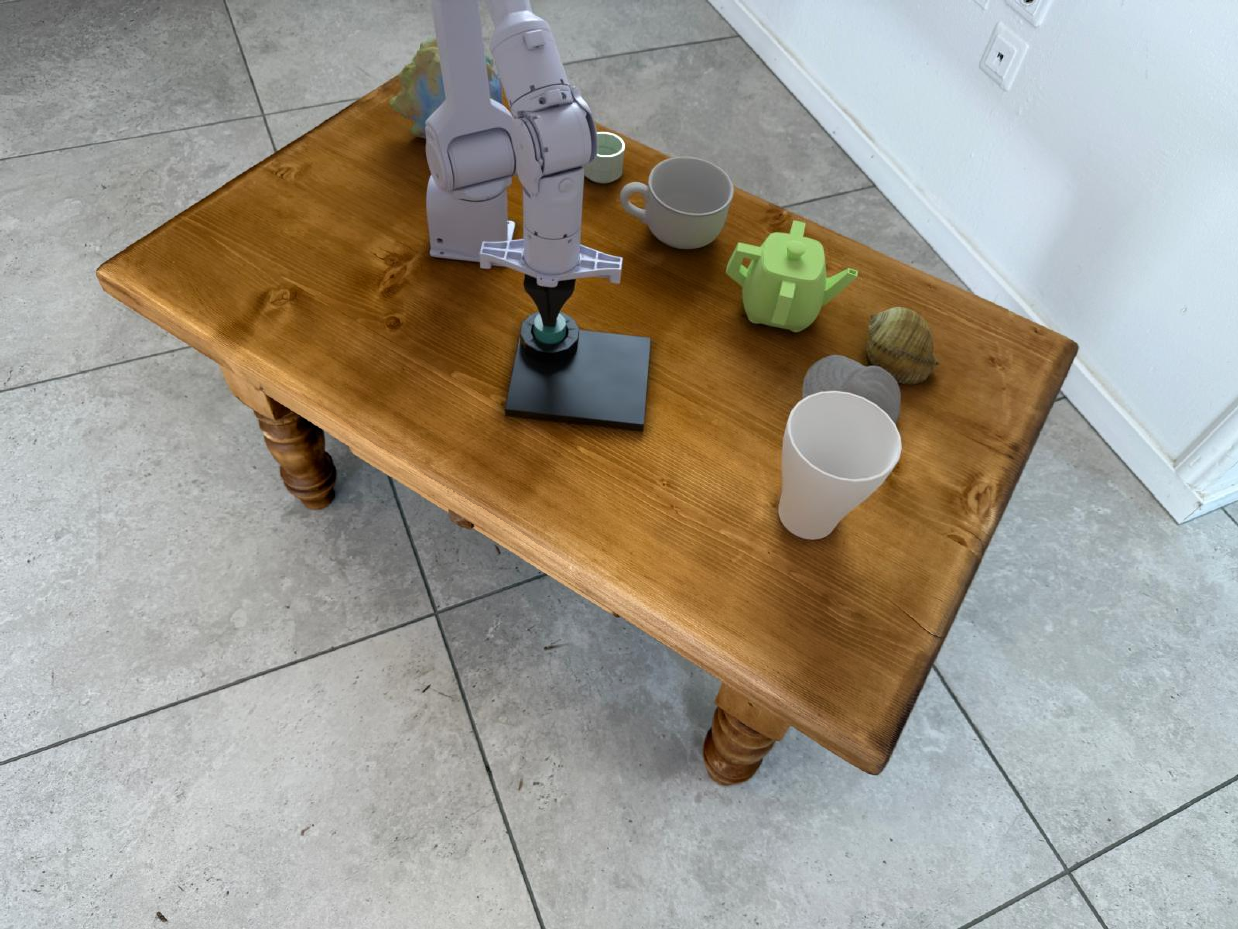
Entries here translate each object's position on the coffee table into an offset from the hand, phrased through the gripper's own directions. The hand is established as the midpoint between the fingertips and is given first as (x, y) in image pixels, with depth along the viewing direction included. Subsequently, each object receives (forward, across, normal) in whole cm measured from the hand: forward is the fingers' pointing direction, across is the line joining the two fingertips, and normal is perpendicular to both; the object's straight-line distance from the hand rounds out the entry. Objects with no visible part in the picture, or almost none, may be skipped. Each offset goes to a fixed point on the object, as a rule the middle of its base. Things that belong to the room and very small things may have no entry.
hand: (550, 320), depth 98 cm
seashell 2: (+5, +41, +5) cm, 42 cm away
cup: (+5, +29, -19) cm, 35 cm away
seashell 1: (+5, +34, -5) cm, 35 cm away
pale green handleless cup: (+5, +3, +34) cm, 34 cm away
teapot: (+5, +27, +11) cm, 30 cm away
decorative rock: (+5, -19, +39) cm, 44 cm away
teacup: (+5, +13, +23) cm, 27 cm away
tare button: (+2, 0, 0) cm, 2 cm away
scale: (+5, +4, -4) cm, 7 cm away
